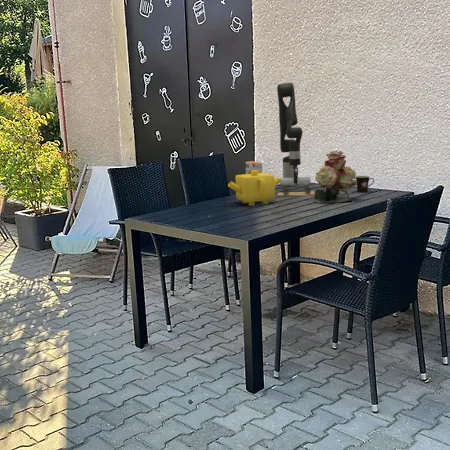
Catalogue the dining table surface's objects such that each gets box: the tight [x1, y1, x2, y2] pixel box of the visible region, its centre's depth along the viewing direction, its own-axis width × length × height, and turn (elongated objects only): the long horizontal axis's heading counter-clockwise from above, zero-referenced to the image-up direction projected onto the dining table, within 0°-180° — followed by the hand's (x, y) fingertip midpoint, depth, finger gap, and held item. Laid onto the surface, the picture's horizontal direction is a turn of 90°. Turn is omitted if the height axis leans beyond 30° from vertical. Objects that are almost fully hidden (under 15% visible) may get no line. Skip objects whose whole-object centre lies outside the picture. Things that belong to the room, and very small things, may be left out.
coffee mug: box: [355, 175, 375, 194], centre depth 384 cm, size 12×9×10 cm
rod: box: [279, 176, 312, 186], centre depth 394 cm, size 20×4×4 cm, turn 90°
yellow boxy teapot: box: [227, 170, 281, 206], centre depth 361 cm, size 35×29×20 cm
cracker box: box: [245, 160, 263, 174], centre depth 399 cm, size 14×6×21 cm, turn 25°
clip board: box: [277, 185, 315, 198], centre depth 383 cm, size 11×24×5 cm, turn 89°
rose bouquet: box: [313, 150, 358, 204], centre depth 359 cm, size 26×29×30 cm
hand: (295, 182), depth 395 cm, fingers closed on rod, 4 cm apart
